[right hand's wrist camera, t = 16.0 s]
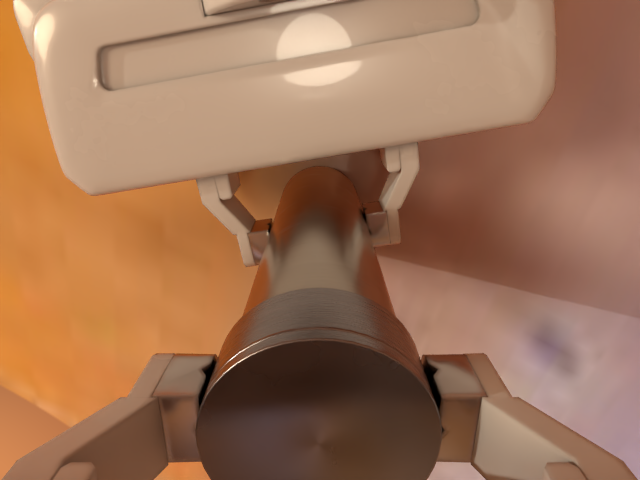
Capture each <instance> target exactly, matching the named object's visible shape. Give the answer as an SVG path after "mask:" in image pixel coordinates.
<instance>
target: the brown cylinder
mask: <svg viewBox="0 0 640 480" xmlns="http://www.w3.org/2000/svg"><path fill="white" fill-rule="evenodd" d="M317 287H319V288H334V289H340V290H346V291H349V292H353V293H356V294H359V295H362V296H364V297H366V298H369V299H371V300H373V301H375V302H376V303H378V304H380V305H381V306H383V307H384V308H386V309H387V310H388V311H390V312H391V313H392V314H393V315H395V312H394V309H393V306H392V303H391V300H390V296H389V293H388V290H387V287H386V284H385V281H384V277H383V274H382V271H381V268H380V265H379V262H378V258H377V255H376V252H375V249H374V246H373V243H372V239H371V236H370V233H369V230H368V227H367V224H366V221H365V217H364V214H363V211H362V208H361V205H360V201H359V198H358V195H357V192H356V189H355V187H354V185H353V184H352V182H351V181H350V180H349V179H348V177H346V176H345V175H344V174H343V173H341V172H340V171H338V170H336V169H333V168H330V167H325V166H315V167H310V168H307V169H304V170H302V171H300V172H298V173H297V174H295V175H294V176H293V177H292V178H291V179H290V180H289V182H288V183H287V185H286V186H285V188H284V191H283V194H282V197H281V200H280V203H279V206H278V209H277V212H276V215H275V218H274V221H273V224H272V227H271V230H270V234H269V237H268V240H267V243H266V246H265V249H264V252H263V255H262V258H261V261H260V264H259V267H258V270H257V274H256V277H255V280H254V283H253V286H252V289H251V292H250V295H249V298H248V301H247V304H246V307H245V310H244V314H243V316H244V315H245V314H246V313H247V312H248V311H250V310H251V309H252V308H254V307H255V306H257V305H258V304H260V303H262V302H263V301H265V300H267V299H269V298H272V297H274V296H276V295H279V294H282V293H285V292H288V291H293V290H298V289H303V288H317ZM395 317H396V315H395Z"/></svg>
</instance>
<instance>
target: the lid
mask: <svg viewBox="0 0 640 480" xmlns="http://www.w3.org/2000/svg"><path fill="white" fill-rule="evenodd" d="M441 442H442V426H441V419H440V414H439V411H438V408H437V405H436V402H435V399H434V396H433V394H432V391H431V388H430V385H429V382H428V379H427V377H426V374H425V371H424V368H423V365H422V362H421V360H420V357H419V354H418V351H417V348H416V346H415V343H414V341H413V339H412V337H411V335H410V334H409V332H408V331H407V329H406V328H405V327H404V325H403V324H402V323H401V322H400V321H399V320H398V319H397V318H396V317H395V315H393V314H392V313H391V312H390V311H388V310H387V309H386V308H384V307H383V306H381V305H380V304H378V303H376V302H375V301H373V300H371V299H369V298H366V297H364V296H362V295H359V294H356V293H353V292H349V291H346V290H340V289H334V288H319V287H317V288H303V289H298V290H293V291H288V292H285V293H282V294H279V295H276V296H274V297H272V298H269V299H267V300H265V301H263V302H262V303H260V304H258V305H257V306H255V307H254V308H252V309H251V310H250V311H248V312H247V313H246V314H245V315H244V316H242V317H241V319H240V320H239V321H238V322H237V323H236V324H235V325H234V326H233V328H232V329H231V331H230V332H229V334H228V335H227V337H226V339H225V341H224V344H223V346H222V348H221V351H220V354H219V356H218V359H217V362H216V365H215V367H214V370H213V373H212V376H211V378H210V381H209V384H208V387H207V389H206V392H205V395H204V398H203V400H202V403H201V406H200V409H199V413H198V416H197V422H196V444H197V449H198V453H199V457H200V459H201V462H202V464H203V467H204V469H205V471H206V472H207V474H208V476H209V477H210V479H211V480H427V478H428V477H429V475H430V474H431V472H432V470H433V468H434V466H435V464H436V461H437V458H438V456H439V452H440V447H441Z"/></svg>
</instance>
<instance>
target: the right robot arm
mask: <svg viewBox="0 0 640 480" xmlns="http://www.w3.org/2000/svg"><path fill="white" fill-rule="evenodd" d="M217 359H218V357H217V355H216V354H174V353H157V354H155V355H153V356H152V357H151V359H150V360H149V362H148V364H147V365H146V367H145V368H144V370H143V372H142V373H141V375H140V377H139V378H138V380H137V382H136V383H135V385H134V386H133V388H132V390H131V391H130V393H129V395H128V396H127V397H120V398H119V399H117V400H116V401H114V402H112V403H111V404H109V405H107V406H106V407H104V408H102V409H101V410H99V411H97V412H96V413H94V414H93V415H91V416H89V417H88V418H86V419H84V420H83V421H81V422H79V423H78V424H76V425H74V426H73V427H71V428H70V429H68V430H66V431H65V432H63V433H61V434H60V435H58V436H56V437H55V438H53V439H52V440H50V441H48V442H47V443H45V444H43V445H42V446H40V447H38V448H37V449H35V450H33V451H32V452H30V453H28V454H27V455H25V456H24V457H22V458H20V459H19V460H17V461H16V462H15V464H14V465H13V466H12V467H11V469H10V470H9V471H8V473H7V474H6V475H5V476H4V478H3V479H2V480H154V479H155V478H156V477H157V476H158V475H159V474H160V473H161V472H162V470H163V469H164V468H165V467H166V466H167V465H168V462H201V459H200V457H199V453H198V449H197V444H196V422H197V416H198V413H199V409H200V406H201V403H202V400H203V398H204V395H205V392H206V389H207V387H208V384H209V381H210V378H211V376H212V373H213V370H214V367H215V365H216V362H217ZM421 362H422V365H423V368H424V371H425V374H426V377H427V379H428V382H429V385H430V388H431V391H432V394H433V396H434V399H435V402H436V405H437V408H438V411H439V414H440V419H441V426H442V442H441V447H440V452H439V456H438V458H437V461H438V462H471V465H472V466H473V467H474V468H475V469H476V470H477V471H478V472H479V473H480V474H481V475H482V476H483V477H484V478H485V479H486V480H637V478H636V477H635V476H634V474H633V473H632V472H631V471H630V469H629V468H628V467H627V466H626V464H625V463H624V462H623V461H622V460H620V459H619V458H617V457H615V456H614V455H612V454H611V453H609V452H607V451H606V450H604V449H602V448H601V447H599V446H597V445H596V444H594V443H593V442H591V441H589V440H588V439H586V438H584V437H583V436H581V435H579V434H578V433H576V432H575V431H573V430H571V429H570V428H568V427H566V426H565V425H563V424H561V423H560V422H558V421H557V420H555V419H553V418H552V417H550V416H548V415H547V414H545V413H543V412H542V411H540V410H539V409H537V408H535V407H534V406H532V405H530V404H529V403H527V402H525V401H524V400H522V399H521V398H519V397H512V396H511V394H510V392H509V391H508V389H507V388H506V386H505V384H504V383H503V381H502V379H501V378H500V376H499V375H498V373H497V371H496V370H495V368H494V366H493V365H492V363H491V362H490V360H489V358H488V357H487V355H485V354H484V353H473V354H449V355H422V359H421Z"/></svg>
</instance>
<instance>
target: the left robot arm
mask: <svg viewBox="0 0 640 480" xmlns="http://www.w3.org/2000/svg"><path fill="white" fill-rule="evenodd" d="M13 7H14V13H15V17H16V20H17V22H18V25H19V28H20V30H21V33H22V36H23V39H24V41H25V44H26V47H27V49H28V52H29V54H30V56H31V57H32V59H33V60H34V63H35V69H36V74H37V79H38V84H39V89H40V94H41V98H42V103H43V107H44V111H45V115H46V119H47V123H48V127H49V130H50V134H51V137H52V141H53V144H54V148H55V151H56V154H57V157H58V160H59V163H60V166H61V168H62V171H63V173H64V174H65V176H66V177H67V178H68V179H69V180H70V181H71V182H73V183H74V184H75V185H77V186H78V187H79V188H80V189H82V190H83V191H84V192H86V193H87V194H89V195H91V196H98V195H105V194H111V193H117V192H123V191H129V190H135V189H141V188H147V187H153V186H159V185H165V184H171V183H176V182H182V181H188V180H194V179H196V181H197V185H198V189H199V192H200V196H201V200H202V203H203V205H204V206H205V207H206V208H207V209H208V210H209V211H210V212H211V213H212V214H213V215H214V216H215V217H216V218H217V219H218V220H219V221H220V222H221V223H222V224H223V225H224V226H225V227H226V228H227V229H228V230H229V231H230V232H231V233H232V234H233V235H237V239H238V243H239V247H240V251H241V254H242V258H243V262H244V265H245V266H246V267H250V266H256V265H259V264H260V261H261V258H262V255H263V252H264V249H265V246H266V243H267V240H268V237H269V234H270V230H271V227H272V224H273V222H272V218H271V219H264V220H257V221H255V219H254V217H253V216H252V215H251V214H250V213H249V212H248V211H247V209H246V208H245V207H244V206H243V205H242V204H241V203H240V201H239V200H238V199H237V198H236V197H235V196H234V193H235V192H236V191H237V189H238V188H239V187H240V185H241V184H240V180H239V175H238V172H242V171H248V170H254V169H260V168H266V167H272V166H278V165H284V164H290V163H296V162H302V161H308V160H314V159H320V158H326V157H332V156H338V155H344V154H350V153H356V152H362V151H368V150H374V149H380V157H381V162H382V163H383V165H384V166H385V168H386V169H387V171H389V172H390V173H389V176H388V178H387V180H386V183H385V185H384V188H383V190H382V192H381V195H380V197H379V201H376V202H370V203H365V204H362V207H363V214H364V217H365V221H366V224H367V227H368V230H369V233H370V236H371V239H372V243H373V246H374V247H379V246H386V245H393V244H399V243H401V234H400V224H399V215H398V209H401V207H402V205H403V203H404V201H405V198H406V196H407V194H408V192H409V190H410V188H411V186H412V184H413V182H414V180H415V178H416V176H417V174H418V171H419V169H420V164H419V151H418V142H421V141H427V140H433V139H439V138H445V137H451V136H457V135H463V134H469V133H475V132H481V131H487V130H493V129H499V128H505V127H511V126H517V125H523V124H528V123H531V122H533V121H534V120H535V119H536V118H537V117H538V116H539V114H540V113H541V112H542V110H543V109H544V107H545V106H546V104H547V103H548V101H549V100H550V98H551V97H552V95H553V92H554V89H555V83H556V63H557V44H556V17H555V2H554V0H13Z"/></svg>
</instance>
